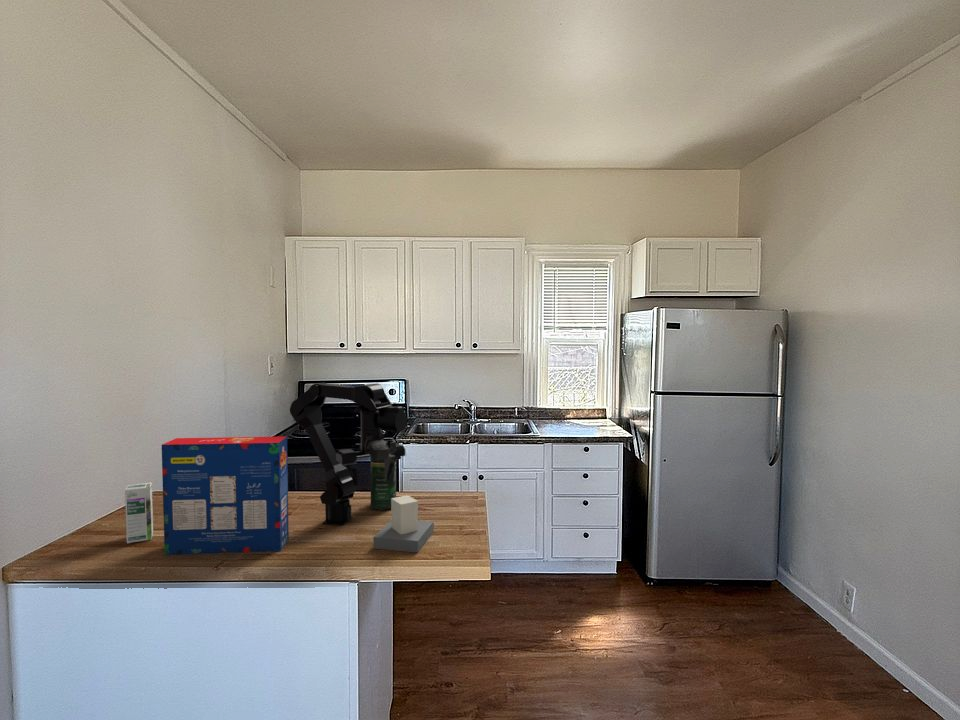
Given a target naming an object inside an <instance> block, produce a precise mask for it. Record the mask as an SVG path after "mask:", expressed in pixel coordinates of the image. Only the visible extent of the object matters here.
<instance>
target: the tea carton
mask: <svg viewBox="0 0 960 720" xmlns="http://www.w3.org/2000/svg"><path fill="white" fill-rule="evenodd" d="M390 509H391V510H390V511H391V512H390V513H391V514H390V517H391V519H390V521H391V527H392V528H393V529H394V530H396V531H397V532H398V533H399V534H406V533H410V532H414V531H418V520H419V501H418V499H415V498H414V497H412V496H410V495H402V496H398V497H397V496H396V498H391V508H390Z"/></svg>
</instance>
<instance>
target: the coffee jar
mask: <svg viewBox="0 0 960 720" xmlns="http://www.w3.org/2000/svg"><path fill="white" fill-rule="evenodd" d="M396 497H397V461H396V462H395V464H394V466H393V468H392V471H391V474H390V477H389V480H388V481H386V480H385V466H384V459H380V460H377V461H376V460H373V459H372V457H370V508H371V509H375V510H379V511H384V510H387V509H391V498H396Z"/></svg>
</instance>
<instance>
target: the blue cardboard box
mask: <svg viewBox="0 0 960 720" xmlns="http://www.w3.org/2000/svg"><path fill="white" fill-rule="evenodd" d="M288 461H289V460H288V436H287V435H285V436H237V437H236V436H230V437H229V436H228V437H227V436H223V437H221V436H220V437H176V438H173V439H172V440H169V441H166V442H165V443H162V444H161V469H162V470H161V473H162V475H161V477H162V511H163V539H164V540H163V545H164V556H181V555H182V556H183V555H184V556H185V555H186V556H187V555H209V554H211V555H213V554H235V553H262V552H266V553H267V552H281V551H282V550H283V548H284V547H285V545H286V544H287V542H288V540H289V539H290V537H289V536H290V535H289V534H290V533H289V532H290V531H289V530H290V529H289V527H290V526H289V477H288V476H289V472H288V467H289V466H288Z"/></svg>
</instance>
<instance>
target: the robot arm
mask: <svg viewBox="0 0 960 720" xmlns="http://www.w3.org/2000/svg"><path fill="white" fill-rule="evenodd" d="M383 387H384V386H383V385H382V384H380V383H371V384H362V385H346V384H345V385H344V384H337V383H326V382H318V383H313V384H312V385H311V386H310V387H309V388H308V389H307V390H306V391H305V392H303V393H302V394H300V395H299V396H298V397H297V398H296V399H295V400H293V401H292V402H291V404H290V408H289V413H290V415H291V417H292V418H293V420H294V421H295V423H297V425H299V426H300V427H301V428H303V429H304V430H305V431H306V434H307V435H308V438H309V440H310V442H311V443H312V446H313V449H314V450H315V452H316V455H317V456H318V459H319V460H320V463H321V465H322V467H323V470H324V471H325V478H324V479H325V481H324V483H325V487H326V489H325V490H324V491H323V492H322V494H321V495H319V498H320V502H321V504H322V505H325V510H324V511H325V520H324V521H322V525H335V526H344V525H345V524H347V522H349V521H351V520H352V519H353V516H352V505H351V502H350V501H351V499H353V498H354V495H355V492H356V491H357V488H358V485H359V484H358V482H359V481H358V480H359V479H358V471H357V470H358V464H359V463H358V462H357V460H358V459H362V458H371V457H372V459H373V460H376V461H377V460H380V459H384V466H385V480H386V481H388V480H389V477H390V474H391V471H392V468H393V466H394V464H395V462H396V463H397V462H398V461H399V460H401V459H402V457H405V456H406V448H405V446H404V445H402V444H400V443H397V442H396V440H395V439H388V440H385V438H384V432H382V431H387V432H388V431H390V432H400V433H402V432H403V431H405V429H406V427H407V424H408V417H407V415H406V413H405V411H404V410H403V409H404V408H403V406H394V405H393V404H392V402H391V401H390V398H389V397H388V396H387V394H386V392H385V389H384V388H383ZM326 398H327V399H329V398H331V399H339V400H348V401H352V403H354V404H357V405H358V406H357V407H356V408H355V409H354V410H353V412H354V413H359V414H360V431H359V436H360V445H359V450H360V451H359V450H358V451H355V450H353V449H351V448H347V449H339V450H337V451H336V450H335V448H334V446H333V443H332V442H331V439H330V437H329V436H328V433H327V432H326V430H325V427H324V425H323V423H322V417H323V412H322V409H321V408H322V407H323V405H324V404H325V402H326Z"/></svg>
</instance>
